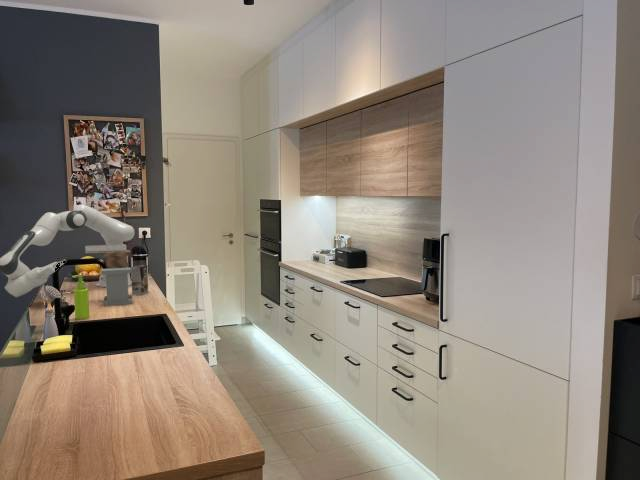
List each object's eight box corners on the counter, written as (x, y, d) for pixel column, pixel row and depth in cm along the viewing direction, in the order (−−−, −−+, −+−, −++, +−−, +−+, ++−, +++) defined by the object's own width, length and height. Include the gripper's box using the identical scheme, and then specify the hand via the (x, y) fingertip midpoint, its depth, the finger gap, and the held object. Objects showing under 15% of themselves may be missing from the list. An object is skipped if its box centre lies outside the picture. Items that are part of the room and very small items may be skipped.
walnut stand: (104, 301, 265) (101, 253, 263) (104, 298, 272) (102, 251, 270) (132, 299, 270) (130, 251, 268) (132, 297, 277) (130, 250, 275)
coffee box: (143, 295, 282) (142, 266, 281) (131, 295, 283) (130, 266, 281) (148, 292, 291) (147, 264, 290) (137, 292, 292) (136, 264, 290)
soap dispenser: (70, 318, 228) (68, 275, 226) (83, 315, 234) (81, 273, 232) (78, 320, 225) (76, 276, 224) (92, 317, 231) (90, 274, 230)
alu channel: (85, 253, 262) (85, 246, 262) (86, 252, 266) (85, 245, 265) (126, 251, 269) (126, 245, 268) (126, 250, 272) (126, 244, 272)
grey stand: (102, 306, 255) (101, 271, 253) (103, 302, 262) (102, 268, 261) (132, 303, 260) (130, 269, 258) (132, 300, 267) (130, 267, 265)
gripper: (31, 273, 246) (57, 258, 250) (38, 268, 266) (63, 254, 269) (39, 284, 248) (65, 269, 251) (46, 278, 267) (70, 264, 271)
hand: (64, 261), depth 260 cm, fingers open, 8 cm apart
